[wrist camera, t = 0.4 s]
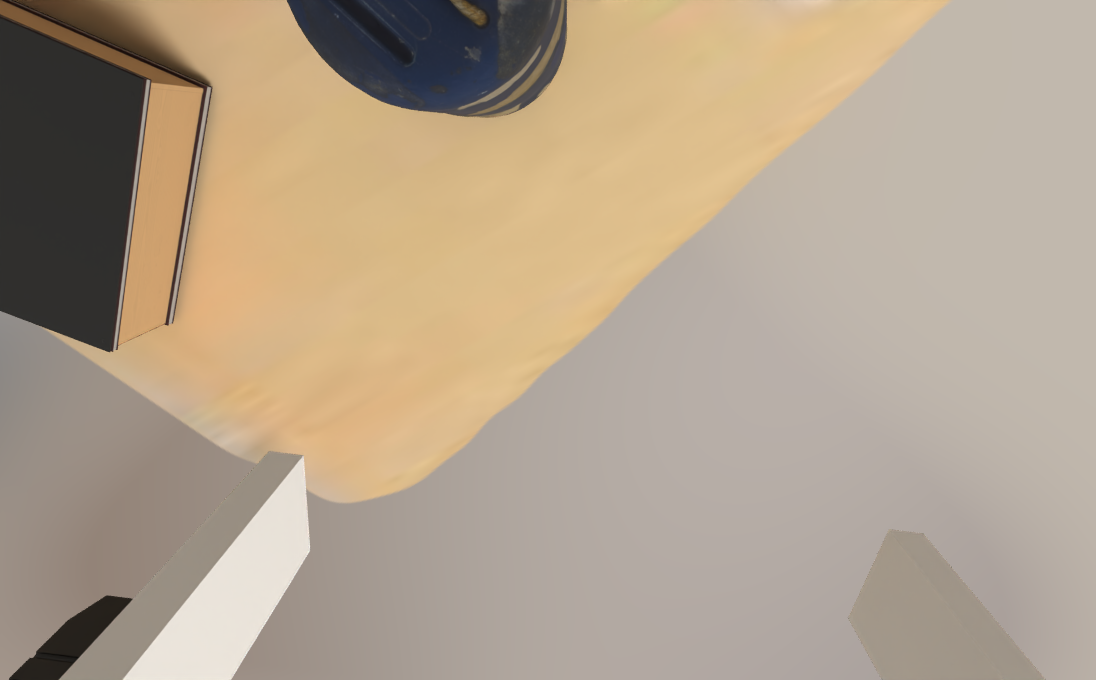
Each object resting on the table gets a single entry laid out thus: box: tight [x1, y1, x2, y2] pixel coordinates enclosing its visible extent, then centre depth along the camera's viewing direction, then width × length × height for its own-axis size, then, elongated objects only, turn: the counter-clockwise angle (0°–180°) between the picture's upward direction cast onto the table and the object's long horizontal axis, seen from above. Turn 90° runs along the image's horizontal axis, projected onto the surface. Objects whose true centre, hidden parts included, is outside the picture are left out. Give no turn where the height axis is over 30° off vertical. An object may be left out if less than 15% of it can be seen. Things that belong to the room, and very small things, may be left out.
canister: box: [287, 0, 567, 118], centre depth 24 cm, size 10×10×18 cm
